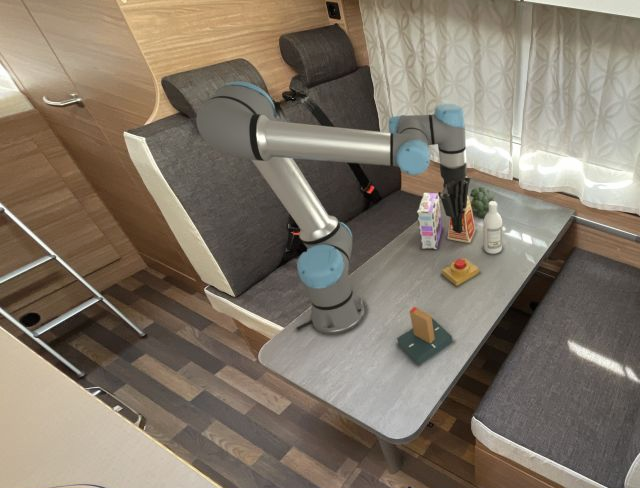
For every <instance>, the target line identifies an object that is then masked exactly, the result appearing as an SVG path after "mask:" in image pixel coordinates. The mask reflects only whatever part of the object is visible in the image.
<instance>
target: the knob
mask: <svg viewBox="0 0 640 488" xmlns="http://www.w3.org/2000/svg"><path fill="white" fill-rule="evenodd" d="M409 316H410V320H411V325H412V326H411V327H412V329H413V332H414V335H415V336H417V337H419V338H421V339H423V340H425V341H426V342H428V343H431V342H432V341H433V340H434V339H435V338H434V331H433V324H432V318H433V317H432V315H431V314H429V313H428V312H425V311H424V310H421V309H420V308H417V307H416V306H413V307H412V308H411V309H410V310H409ZM431 317H432V318H431Z"/></svg>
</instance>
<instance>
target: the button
mask: <svg viewBox="0 0 640 488" xmlns="http://www.w3.org/2000/svg"><path fill="white" fill-rule="evenodd" d="M455 260H456V261H455ZM455 260H454V261H455V268H457V269H463V268H465V266H466V265H465V260H463V258H457V259H455Z"/></svg>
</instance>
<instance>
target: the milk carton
mask: <svg viewBox="0 0 640 488" xmlns="http://www.w3.org/2000/svg"><path fill="white" fill-rule="evenodd" d="M470 201H471V199H470V195H468V197H467V207H466V209H463V211H465V213H464V214H462V229H463V231H462V232H461V233H457V232H455V231H453V224H452V220H451V217H449V225H448V232H447V240H450V241H451V240H452V241H457V242H462V243H468V244H470V243H471V241H472V239H473V237H474V235H475V232H476V226H475V220H474V215H473V209H472V208H471V204H470Z"/></svg>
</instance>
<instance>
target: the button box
mask: <svg viewBox="0 0 640 488" xmlns="http://www.w3.org/2000/svg"><path fill="white" fill-rule="evenodd" d="M462 259H463V260H465V265H466V266H465V268H463V269H457V268H455V261H456V260H457V259H455V260H452V262H451V263H450V265H448V266H447V267H445V268H443V269H441V273H442V275H443V277H445V278H446V279H447V280H448V281H450V282H451V283H452V284H454V285H455V286H456V287H458V286H459V285H461V284H463V283H465V282H466V281H468V280H470V279H472V278H473V277H475V276H477V275H478V274H480V267H478V266H477V265H475V264H474V263H473V262H471V261H470V260H469V259H467V258H465V257H463V258H462Z"/></svg>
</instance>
